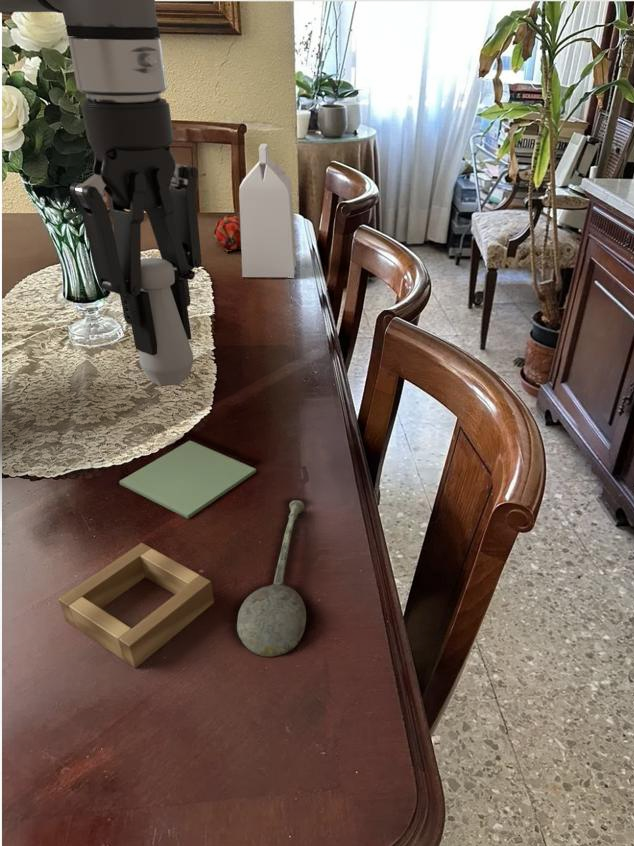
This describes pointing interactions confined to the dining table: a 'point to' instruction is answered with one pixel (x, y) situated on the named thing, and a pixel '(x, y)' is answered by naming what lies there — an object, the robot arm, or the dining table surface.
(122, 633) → the frame
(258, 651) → the soupspoon
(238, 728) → the dining table surface
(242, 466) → the mat
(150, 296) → the salt shaker
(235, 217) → the dragon fruit
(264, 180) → the milk
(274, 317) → the dining table surface
